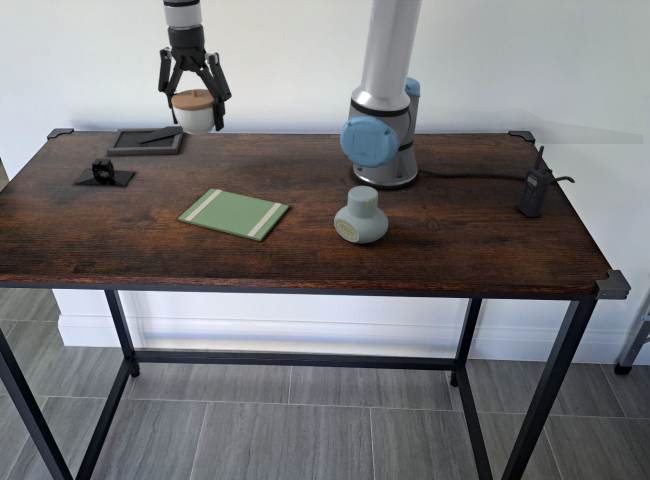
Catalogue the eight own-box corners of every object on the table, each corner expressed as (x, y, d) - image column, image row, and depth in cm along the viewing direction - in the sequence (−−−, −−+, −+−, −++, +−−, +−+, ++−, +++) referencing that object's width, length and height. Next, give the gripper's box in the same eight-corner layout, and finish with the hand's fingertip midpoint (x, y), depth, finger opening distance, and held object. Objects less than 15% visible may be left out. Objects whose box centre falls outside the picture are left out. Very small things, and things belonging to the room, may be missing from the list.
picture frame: (183, 132, 156) (119, 134, 156) (182, 125, 154) (117, 127, 154) (176, 154, 145) (108, 155, 145) (175, 147, 144) (106, 148, 144)
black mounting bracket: (75, 185, 134) (70, 167, 131) (87, 170, 139) (82, 153, 136) (125, 186, 133) (120, 169, 130) (135, 172, 138) (131, 154, 135)
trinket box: (225, 120, 135) (221, 81, 129) (217, 139, 127) (212, 98, 121) (182, 120, 136) (176, 81, 130) (171, 139, 128) (164, 98, 122)
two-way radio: (513, 207, 122) (531, 143, 113) (530, 203, 123) (549, 139, 114) (530, 220, 118) (550, 155, 109) (547, 215, 119) (568, 151, 110)
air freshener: (393, 239, 114) (398, 196, 107) (364, 254, 110) (368, 211, 103) (355, 217, 120) (358, 175, 114) (327, 231, 116) (328, 189, 110)
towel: (288, 208, 124) (288, 205, 123) (260, 241, 114) (260, 238, 114) (211, 190, 130) (211, 187, 130) (178, 220, 121) (177, 217, 120)
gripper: (242, 25, 115) (250, 126, 129) (149, 16, 123) (166, 113, 137) (224, 34, 110) (234, 139, 124) (129, 25, 118) (148, 124, 132)
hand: (198, 125), depth 131 cm, fingers closed on trinket box, 11 cm apart
